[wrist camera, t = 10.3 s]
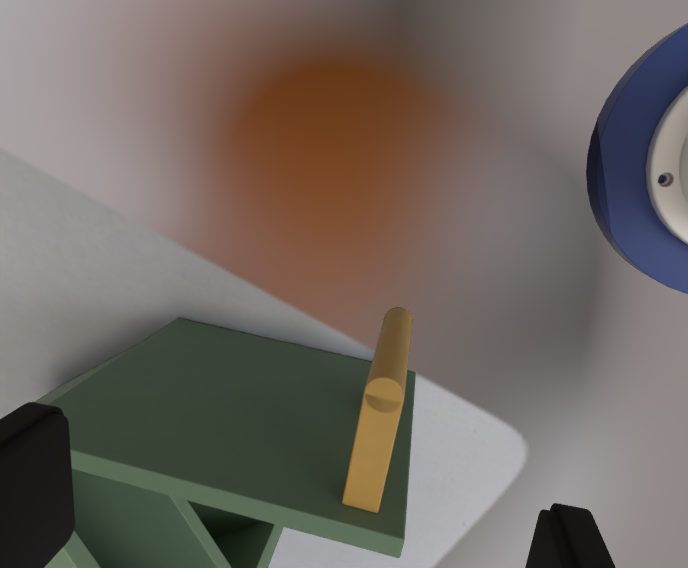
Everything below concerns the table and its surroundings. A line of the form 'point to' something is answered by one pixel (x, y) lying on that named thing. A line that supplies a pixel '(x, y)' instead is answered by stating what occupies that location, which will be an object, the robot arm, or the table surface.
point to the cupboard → (155, 525)
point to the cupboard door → (257, 428)
